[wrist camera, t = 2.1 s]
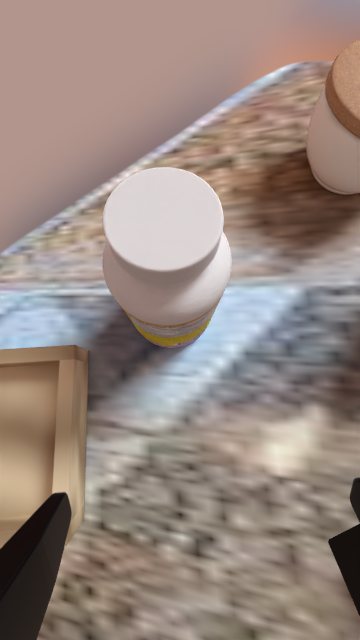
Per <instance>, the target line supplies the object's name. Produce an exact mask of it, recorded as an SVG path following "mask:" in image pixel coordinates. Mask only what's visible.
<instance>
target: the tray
mask: <svg viewBox="0 0 360 640" xmlns="http://www.w3.org/2000/svg"><path fill="white" fill-rule="evenodd" d="M88 360H89V351H88V350H85V349H83V348H80V347H78V346H76V345H68V346H52V347H35V348H18V349H2V350H0V548H1V547H2V546H3V545H4V544H5V543H6V542H7V541H8V540H9V539H10V538H11V537H12V536H13V535H14V534H15V532H16V531H17V530H18V529H19V528H20V527H21V526H22V525H23V524H24V523H25V522H26V521H27V520H28V519H29V518H30V517H31V515H32V514H33V513H34V512H35V511H36V510H37V509H38V508H39V507H40V506H41V505H42V504H43V503H44V502H45V501H46V500H47V499H48V497H49V496H50V495H52V494H53V493H57V492H66V493H67V494H68V498H69V502H70V506H71V510H72V516H71V522H70V526H69V530H68V534H67V538H66V542H65V546H66V545H67V544H68V542H69V541H70V539H71V538H72V537H73V535H74V534H75V532H76V531H77V530H78V528H79V527H80V525H81V524H82V522H83V521H84V503H85V467H86V431H87V396H88Z"/></svg>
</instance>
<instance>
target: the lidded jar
mask: <svg viewBox="0 0 360 640" xmlns="http://www.w3.org/2000/svg"><path fill="white" fill-rule="evenodd" d="M306 148H307V157H308V160H309V163H310V166H311V171H312V174H313V176H314V178H315V179H316V181H317V182H318V183H319V184H320V185H321V186H322V187H324V188H325V189H327V190H329V191H331V192H333V193H336V194H342V195H351V194H356V193H360V40H358V41H355V42H353V43H352V44H350V45H349V46H348V47H346V48H345V49H344V50H343V51H342V52H341V53H340V54H339V55H338V56H337V58H336V59H335V61H334V63H333V65H332V67H331V69H330V71H329V74H328V76H327V79H326V83H325V85H324V87H323V89H322V91H321V93H320V96H319V98H318V100H317V103H316V105H315V108H314V111H313V114H312V117H311V120H310V123H309V127H308V132H307V142H306Z"/></svg>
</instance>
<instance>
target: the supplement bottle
mask: <svg viewBox="0 0 360 640" xmlns="http://www.w3.org/2000/svg"><path fill="white" fill-rule="evenodd" d="M223 222H224V217H223V210H222V206H221V202H220V200H219V198H218V196H217V195H216V193H215V192H214V190H213V189H212V188H211V187H210V186H209V184H208V183H207V182H205V181H204V180H203V179H201V178H200V177H198V176H197V175H195V174H193V173H191V172H188V171H185V170H181V169H177V168H169V167H160V168H151V169H146V170H143V171H140V172H137V173H135V174H133V175H131V176H129V177H128V178H126V179H125V180H124V181H122V182H121V183H120V184H119V185H118V186H117V187H116V188H115V189H114V190H113V192H112V193H111V194H110V196H109V198H108V200H107V202H106V204H105V207H104V212H103V219H102V223H103V230H104V235H105V238H106V240H107V242H106V245H105V248H104V253H103V272H104V277H105V281H106V284H107V286H108V288H109V290H110V292H111V294H112V295H113V297H114V298H115V300H116V301H117V303H118V304H119V305H120V307H121V308H122V309H123V310H124V312H125V313H126V314H127V316H128V317H129V319H130V320H131V321H132V323H133V324H134V325H135V327H136V328H137V330H138V331H139V332H140V333H141V334H142V336H144V337H145V338H146V339H147V340H148V341H150V342H151V343H153V344H155V345H158V346H162V347H167V348H176V347H182V346H185V345H187V344H190V343H191V342H193V341H195V340H196V339H197V338H198V337H200V336H201V334H202V333H203V332H204V331H205V329H206V328H207V326H208V324H209V322H210V320H211V318H212V315H213V313H214V311H215V309H216V307H217V305H218V303H219V301H220V299H221V297H222V295H223V292H224V290H225V288H226V286H227V283H228V281H229V277H230V273H231V251H230V247H229V244H228V241H227V238H226V236H225V234H224V233H223V231H222V230H223Z"/></svg>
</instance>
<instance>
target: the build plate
mask: <svg viewBox="0 0 360 640" xmlns="http://www.w3.org/2000/svg"><path fill="white" fill-rule="evenodd" d="M328 543H329V545H330V548H331V550H332V552H333V555H334V557H335V559H336V562H337V564H338V566H339V569H340V571H341V573H342V576H343V578H344V580H345V583H346V585H347V587H348V590H349V592H350V594H351V597H352V599H353V601H354V604H355V606H356V608H357V611H358V613H359V615H360V524H358V525H356V526H354V527H353V528H351V529H349V530H347V531H345V532H343V533H341V534H339V535H337V536H335V537H333V538H331V539H329V541H328Z"/></svg>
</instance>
